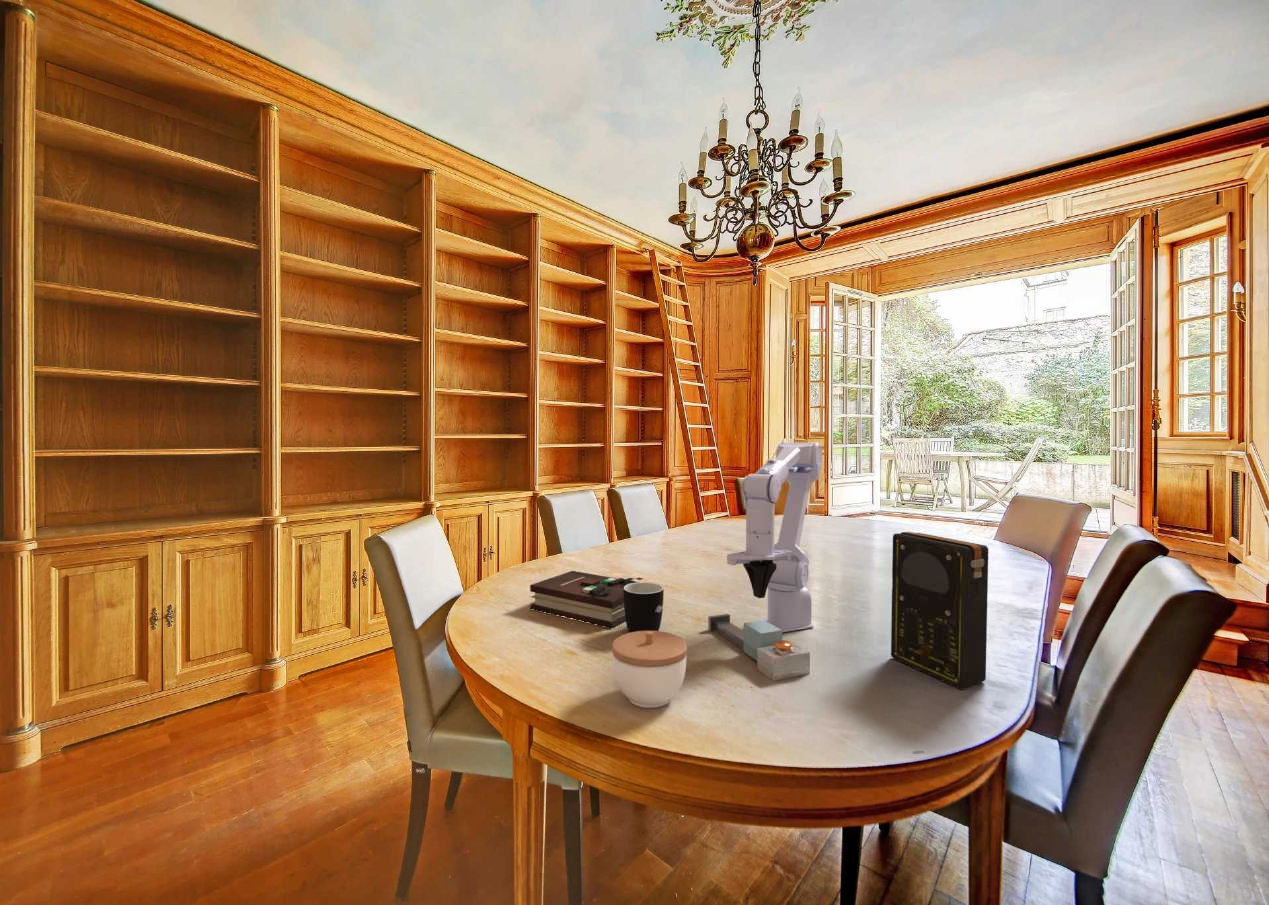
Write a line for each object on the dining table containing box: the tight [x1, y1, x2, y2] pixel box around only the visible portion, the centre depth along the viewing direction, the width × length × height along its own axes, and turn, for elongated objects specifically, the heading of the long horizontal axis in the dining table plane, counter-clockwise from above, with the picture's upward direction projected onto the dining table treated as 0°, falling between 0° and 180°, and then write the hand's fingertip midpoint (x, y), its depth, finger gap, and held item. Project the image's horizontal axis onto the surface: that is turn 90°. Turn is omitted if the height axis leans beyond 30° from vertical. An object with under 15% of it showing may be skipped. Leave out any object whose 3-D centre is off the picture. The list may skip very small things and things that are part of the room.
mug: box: [623, 581, 664, 633], centre depth 121 cm, size 12×9×10 cm
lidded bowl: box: [611, 630, 688, 709], centre depth 90 cm, size 13×13×11 cm
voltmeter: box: [890, 531, 989, 690], centre depth 99 cm, size 16×9×25 cm, turn 23°
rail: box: [707, 613, 744, 651], centre depth 112 cm, size 5×22×3 cm, turn 21°
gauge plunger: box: [775, 639, 792, 655], centre depth 99 cm, size 3×3×5 cm
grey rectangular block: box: [756, 641, 811, 681], centre depth 99 cm, size 8×5×4 cm, turn 111°
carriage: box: [743, 620, 783, 661], centre depth 106 cm, size 5×6×6 cm
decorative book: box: [529, 570, 644, 629], centre depth 135 cm, size 19×8×30 cm
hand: (759, 596), depth 111 cm, fingers closed
